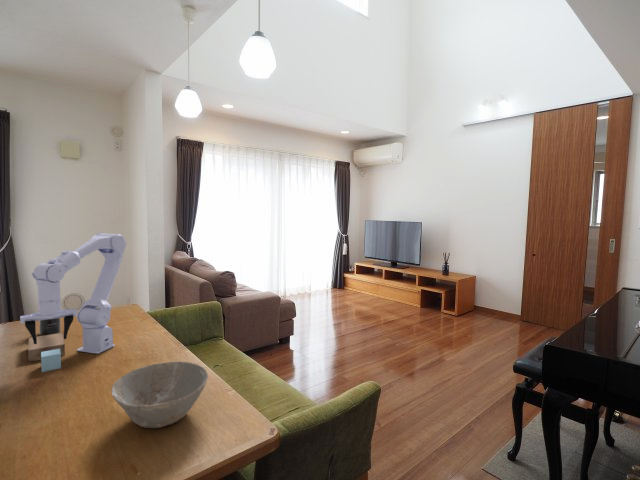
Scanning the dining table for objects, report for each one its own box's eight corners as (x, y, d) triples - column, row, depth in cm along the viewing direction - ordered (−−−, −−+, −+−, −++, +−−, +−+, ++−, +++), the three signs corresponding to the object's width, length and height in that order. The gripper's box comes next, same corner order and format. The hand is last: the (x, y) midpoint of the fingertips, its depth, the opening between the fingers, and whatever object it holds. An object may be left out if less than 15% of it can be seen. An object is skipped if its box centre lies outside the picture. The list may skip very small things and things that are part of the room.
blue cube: (60, 362, 117) (60, 348, 116) (61, 368, 113) (60, 353, 113) (41, 366, 114) (41, 352, 113) (41, 372, 110) (41, 357, 109)
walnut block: (63, 342, 134) (62, 332, 133) (64, 354, 123) (64, 344, 122) (29, 348, 127) (29, 337, 127) (28, 361, 116) (27, 350, 116)
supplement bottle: (51, 336, 140) (51, 307, 139) (35, 335, 140) (34, 306, 139) (64, 330, 147) (64, 303, 146) (49, 329, 147) (48, 302, 146)
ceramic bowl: (179, 386, 104) (179, 354, 103) (224, 416, 90) (225, 379, 89) (96, 418, 87) (96, 380, 86) (136, 462, 72) (135, 417, 72)
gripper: (19, 306, 104) (20, 349, 105) (77, 299, 113) (78, 339, 114) (20, 300, 109) (21, 342, 110) (75, 295, 118) (76, 333, 119)
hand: (50, 340), depth 113 cm, fingers open, 7 cm apart
